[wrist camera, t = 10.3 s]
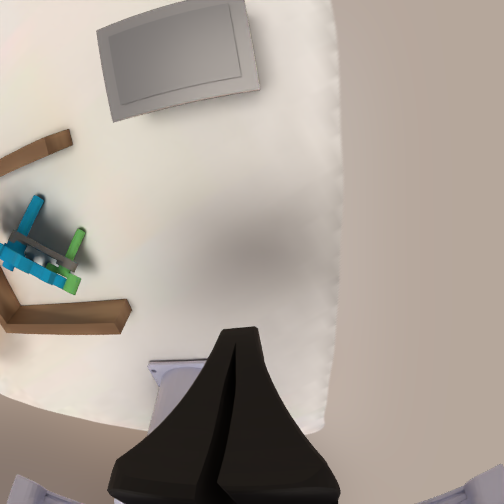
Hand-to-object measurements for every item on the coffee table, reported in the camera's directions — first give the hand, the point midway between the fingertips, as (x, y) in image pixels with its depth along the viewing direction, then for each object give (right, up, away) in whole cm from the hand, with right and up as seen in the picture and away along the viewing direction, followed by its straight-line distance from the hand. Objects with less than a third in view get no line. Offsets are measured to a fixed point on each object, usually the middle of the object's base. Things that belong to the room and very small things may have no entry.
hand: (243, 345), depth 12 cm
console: (-3, +15, +4) cm, 16 cm away
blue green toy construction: (-17, +5, +10) cm, 20 cm away
